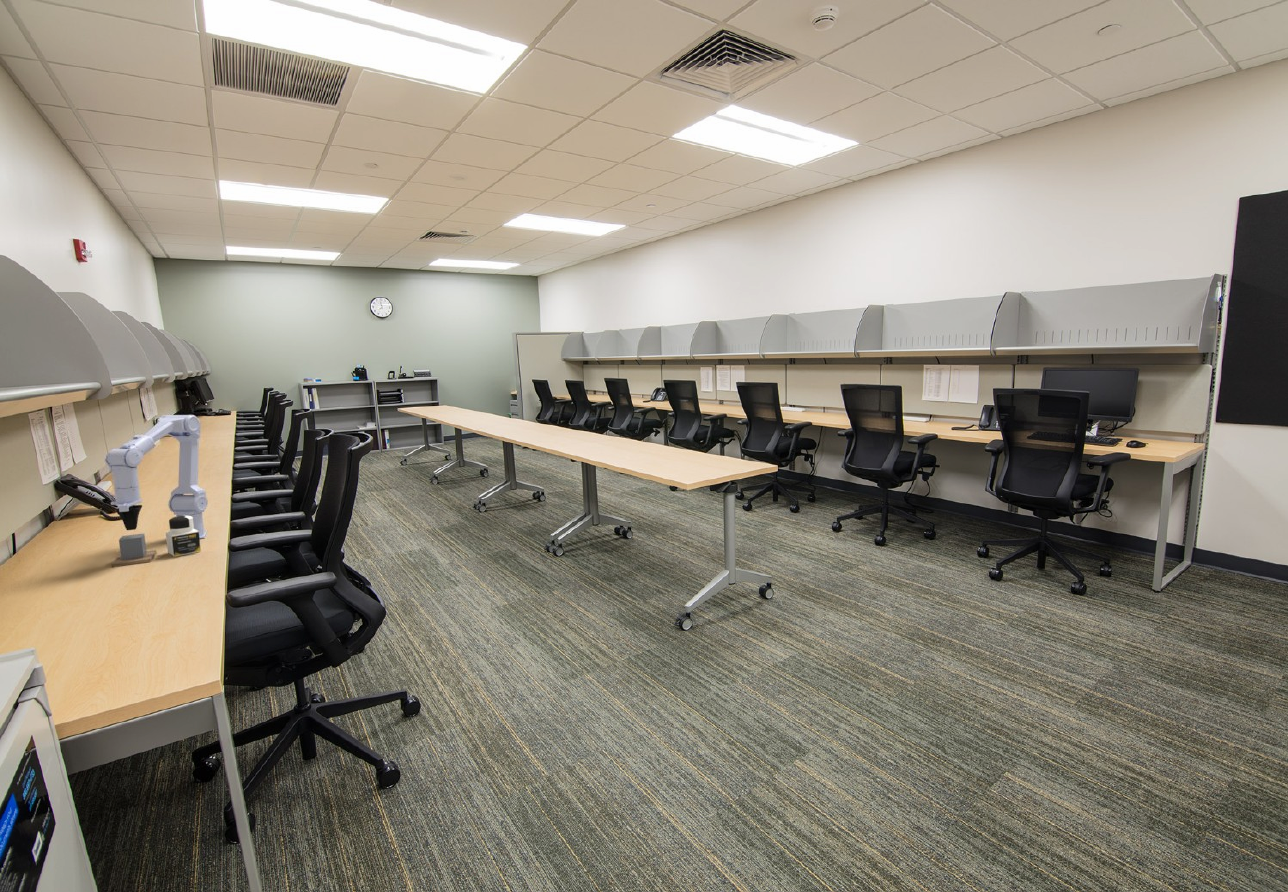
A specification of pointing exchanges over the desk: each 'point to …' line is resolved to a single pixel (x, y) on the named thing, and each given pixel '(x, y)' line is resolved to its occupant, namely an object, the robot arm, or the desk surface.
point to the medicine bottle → (182, 536)
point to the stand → (147, 558)
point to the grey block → (132, 546)
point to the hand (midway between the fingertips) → (131, 529)
